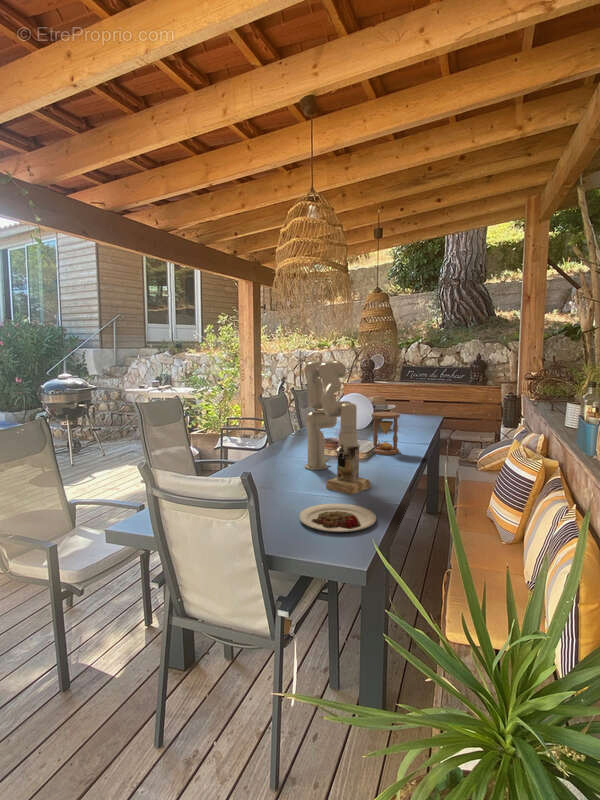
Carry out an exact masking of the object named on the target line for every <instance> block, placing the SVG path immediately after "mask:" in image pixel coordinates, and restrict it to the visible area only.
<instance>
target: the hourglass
mask: <svg viewBox="0 0 600 800" xmlns="http://www.w3.org/2000/svg"><path fill="white" fill-rule="evenodd" d="M371 418H373V424H372V425H373V426H372V427H373V428H372V429H373V432H374V433H373V435H372V436H373V437H372V438H373V439H372V440H373V447H374V446H376V447H377V446H379V447H377V448H376V449H375V450H374V453H375V454H374V453H373V454H374V455H381V456H393V455H398V454H399V453H400V449H399V448H398V440H399V438H398V434H397V433H398V430H399V425H398V419H399V418H400V413H398V412H394V411H393V412H392V411H377V412H376V411H375V412H372V413H371ZM378 419H379V420H378ZM391 420H393V421H391ZM392 425H393V426H392ZM379 426H380V428H381V429H382V430H383V432H384V435H387V433H388V431H389V430H390V428H391V427H392V430H393V437H392V442H393V443H392V444H391V443H388V442H387V441H384V442H381V443H379V444H378V439H379V436H378V428H379Z"/></svg>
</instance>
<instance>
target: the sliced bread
mask: <svg viewBox="0 0 600 800" xmlns="http://www.w3.org/2000/svg"><path fill="white" fill-rule="evenodd" d="M325 488H326V489H327V490H331V491H335V492H339V493H343V494H346V495H351V496H353V495H355V494H357V493H361V492H363V491H365V490H368V489H370V488H371V481H370V480H369V479H367V478H364V477H363V478H362V477H359V479H358V480H357V481H356V482H347V481H341V480H337V477H333V478H331V479H327V481H326V482H325Z"/></svg>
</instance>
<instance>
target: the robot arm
mask: <svg viewBox="0 0 600 800" xmlns="http://www.w3.org/2000/svg"><path fill="white" fill-rule="evenodd" d="M346 375H347V367H346V365H345V364H344V362H341V361H336V360H335V361H334V360H331V361H328V360H324V361H323V360H321V361H319V360H318V361H310V362H307V363H306V364H305V366H304V377H305V380H306V384H307V405H308V408H309V409H311V410H323V411H311V412H308V413H307V414H306V416H305V423H306V424H305V425H306V433H307V463H306V464H305V465H304V468H305V469H306V470H309V471H310V470H312V471H322V470H326V469H328V465H327V464H326V463H329V462H330V459H329V458H328V457H327V458H325V434H324V433H323V432H322V429H332V428H334V427H336V425H337V422H338V421H337V420H338V418H340V432H339V434H338V440H337V441H338V443H337V449H336V450H335V453H336V456H337V459H338V458H339V466H340V467H345V459H344V457H345V455H346V454H348V452H349V449H350V448H354V447H359V448H360V447H361V446H360V445H361V444H359V443H358V434H357V414H358V413H357V412H358V411H357V410H358V409H357V405H356V404H355V403H352V402H351V401H348V400H342V401H338V400H337V398H336V395H335V394H336V393H337V392H339V390H340V389H341V387H342V382H341V380H340V379H342V378H345V377H346ZM342 449H343V451H344V452H342ZM342 454H343V456H342Z"/></svg>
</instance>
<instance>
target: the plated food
mask: <svg viewBox="0 0 600 800" xmlns="http://www.w3.org/2000/svg"><path fill="white" fill-rule="evenodd" d="M299 521H300V522H301V523H302V524H303V525H305V526H307V527H309V528H312V529H314V530H315V529H316V530H317V531H318V530H319V531H324V532H332V533H335V532H336V533H344V532H345V533H346V532H356V531H361V530H365V529H366V528H369V527H371V526H373V525H374V524H375V523H376V521H377V516H376V514H375V513H374V512H373V511H372V510H369V509H368V508H365V507H363V506H360V505H355V504H349V503H324V504H318V505H317V504H316V505H313V506H310V507H307V508H304V509H303V510H302V511H301V512H300V514H299Z"/></svg>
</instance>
